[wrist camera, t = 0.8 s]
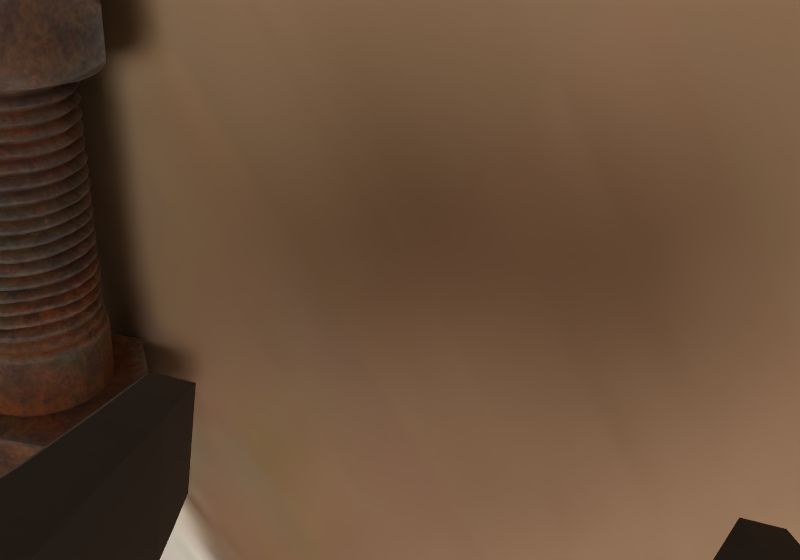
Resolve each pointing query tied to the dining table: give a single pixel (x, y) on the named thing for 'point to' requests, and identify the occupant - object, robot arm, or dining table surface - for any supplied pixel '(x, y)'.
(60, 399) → the bolt
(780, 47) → the dining table surface
